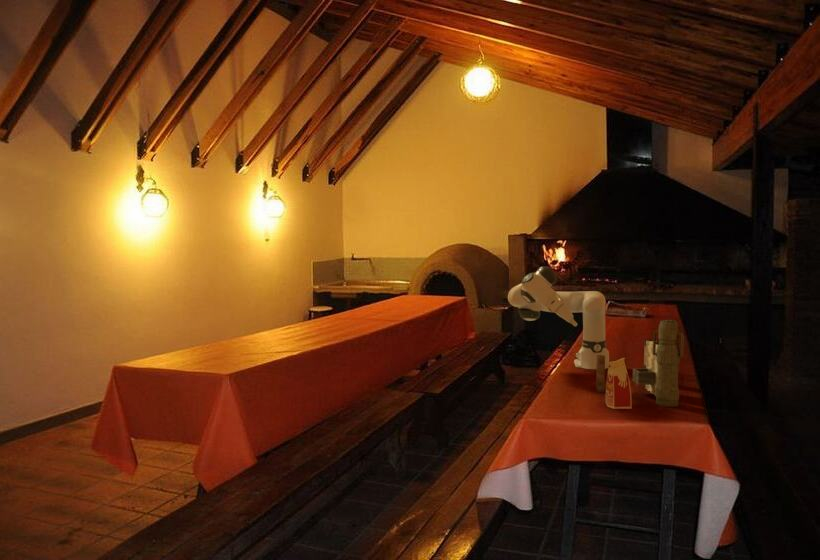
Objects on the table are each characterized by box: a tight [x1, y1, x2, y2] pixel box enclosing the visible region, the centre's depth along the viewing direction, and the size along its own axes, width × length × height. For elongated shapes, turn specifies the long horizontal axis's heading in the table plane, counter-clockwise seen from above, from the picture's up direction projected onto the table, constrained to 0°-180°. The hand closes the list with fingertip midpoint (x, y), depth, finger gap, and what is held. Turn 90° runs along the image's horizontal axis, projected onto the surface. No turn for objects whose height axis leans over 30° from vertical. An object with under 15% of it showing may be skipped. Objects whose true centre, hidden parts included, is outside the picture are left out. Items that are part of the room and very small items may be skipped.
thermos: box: [652, 318, 685, 408], centre depth 263 cm, size 9×12×35 cm
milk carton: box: [605, 357, 633, 410], centre depth 263 cm, size 9×9×20 cm
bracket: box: [632, 341, 658, 397], centre depth 280 cm, size 16×9×22 cm, turn 1°
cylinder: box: [595, 355, 606, 393], centre depth 286 cm, size 4×4×16 cm
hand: (573, 323), depth 287 cm, fingers open, 8 cm apart
